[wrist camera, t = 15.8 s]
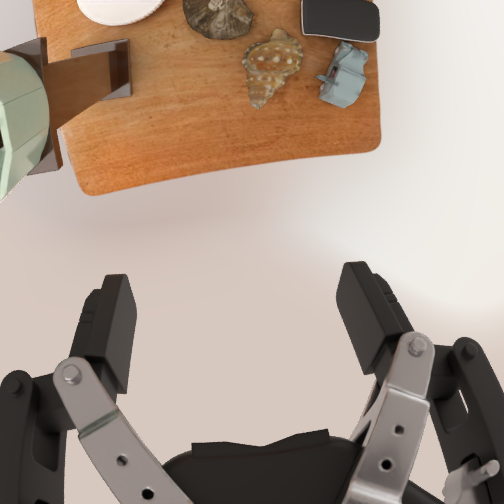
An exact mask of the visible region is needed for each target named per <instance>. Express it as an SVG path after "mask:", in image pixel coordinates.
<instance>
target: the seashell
mask: <svg viewBox="0 0 504 504" xmlns="http://www.w3.org/2000/svg"><path fill="white" fill-rule="evenodd" d="M302 57H303V53H302V46H301V45H300V44H299V42H298V40H297V39H295V38H292V37H290V36H288V35H287V33H286V31H285V30H282V29H275V30H274V31H273V32H272V35H271V38H270V41H269V42H268V43H263V42H262V43H256V44H253V45H251V46H250V47H249V48H248V49H246V51H245V53H244V57H243V60H242V64H243V66H244V68H245V69H246V70H247V72H248V78H247V79H246V84H247V86H248V88H249V92H248V96H249V98H250V104H251V106H252V107H254V108H256V109H260V108H262V106H263V105H264V104H266V102H267V100H268V99H269V98H271V97H272V96H273V95H274V91H276V90H277V89H279V88H280V87H282V86H283V85H284V84H285V80H286V77H287V75H291V74H293V73H295V72H297V71H298V70H299V69H300V65H301V62H302Z"/></svg>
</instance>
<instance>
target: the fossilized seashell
mask: <svg viewBox="0 0 504 504" xmlns="http://www.w3.org/2000/svg"><path fill="white" fill-rule="evenodd" d="M183 9H184V13H185V16H186V19H187V21H188V23H189V25H190V26H191V28H192V29H193V30H195V31H197V32H200V33H202V34H203V35H204V36H205V37H206V38H209V39H221V40H223V39H235V38H236V37H240V36H243V35H244V34H246V33H248V32H249V30H250V27H251V23H252V17H253V16H254V14H253V13H252V12H251V11H250V10H249V9H248V8H247V7H246V5H245V3H244V1H243V0H183Z"/></svg>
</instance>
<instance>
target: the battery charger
mask: <svg viewBox="0 0 504 504" xmlns="http://www.w3.org/2000/svg"><path fill="white" fill-rule="evenodd" d="M300 28H301V33H302V34H303V35H315V36H325V37H331V38H338V39H341V40H346V41H353V42H363V43H367V42H374V41H376V40H377V39H378V37H379V34H380V17H379V9H378V7H377V6H376V5H375V4H374V3H372V2H369V1H366V0H301V1H300Z"/></svg>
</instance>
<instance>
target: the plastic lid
mask: <svg viewBox="0 0 504 504" xmlns="http://www.w3.org/2000/svg"><path fill="white" fill-rule="evenodd" d="M76 1H78V2H77V4H79V5H78V7H80V10H82V13H84V15H85V16H87V18H89V19H90V20H93V22H96V23H99V24H103V25H109V26H120V25H125V24H126V25H128V24H129V23H131V24H132V23H133V22H137V21H138V20H139V21H140V20H141V19H142V18H143V19H144V18H145V17H146V16H149V14H150V13H151V14H152V13H153V11H156V9H157V8H159V7H160V5H162V4H163V3H162V2H163V1H165V0H76Z"/></svg>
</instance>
